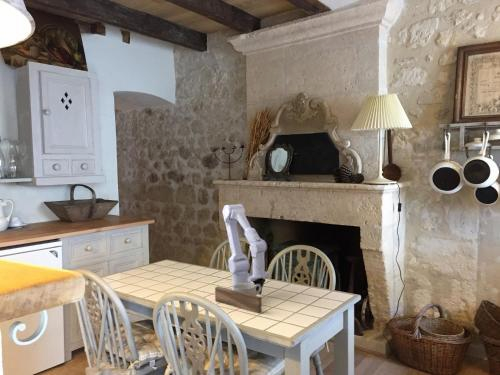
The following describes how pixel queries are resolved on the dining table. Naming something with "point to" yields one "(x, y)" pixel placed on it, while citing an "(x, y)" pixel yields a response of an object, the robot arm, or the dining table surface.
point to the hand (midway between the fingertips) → (258, 293)
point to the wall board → (238, 299)
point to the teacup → (247, 288)
